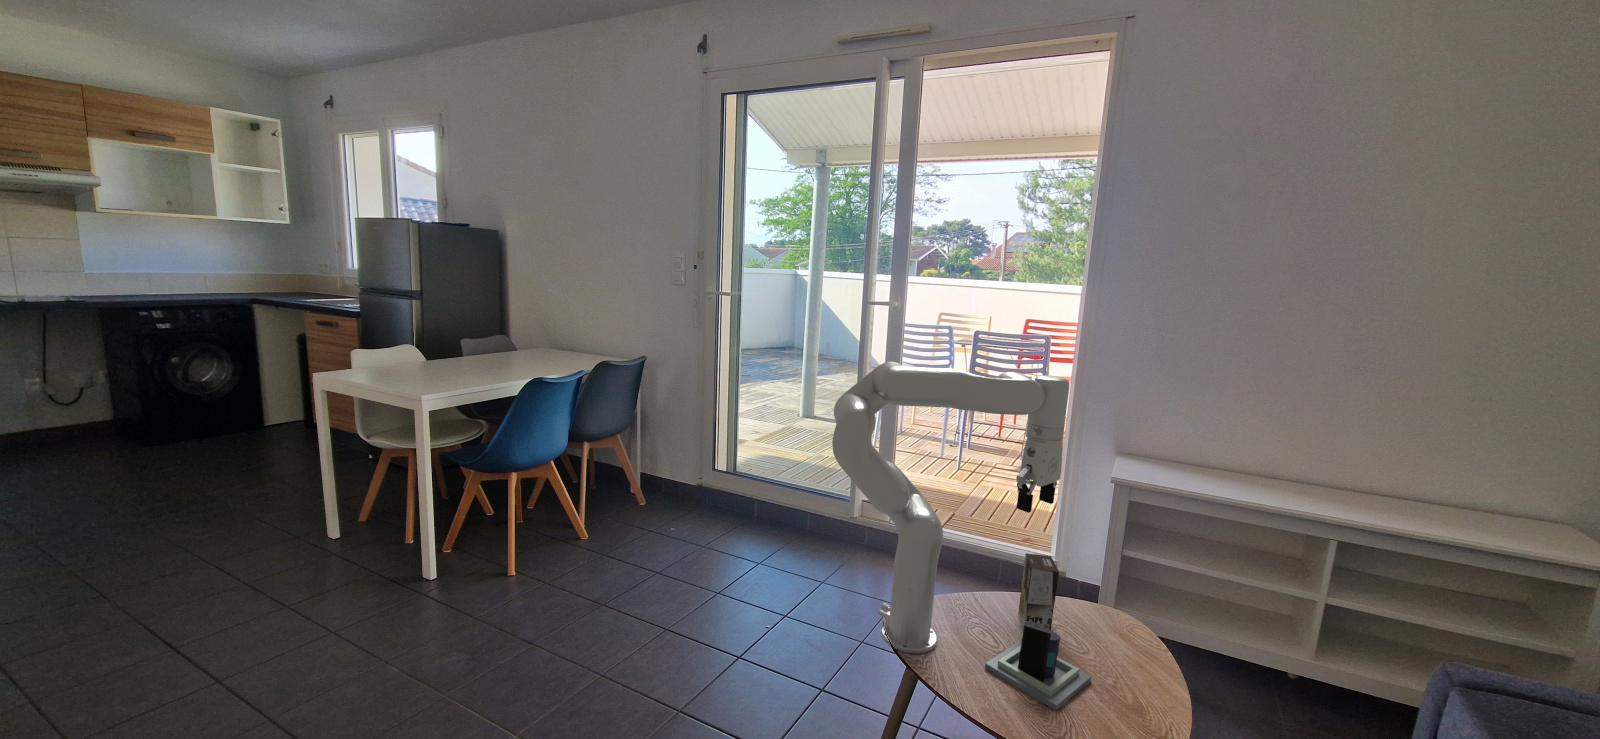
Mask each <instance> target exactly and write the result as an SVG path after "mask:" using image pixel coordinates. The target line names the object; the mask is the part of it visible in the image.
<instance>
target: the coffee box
mask: <svg viewBox="0 0 1600 739" xmlns="http://www.w3.org/2000/svg"><path fill="white" fill-rule="evenodd" d="M1024 556H1025V557H1024V564H1023V572H1022V579H1021V581H1022V582H1021V589H1020V598H1019V606H1018V615H1019V618H1020V622H1021V626H1022V629H1023V630H1024V625H1027V626H1030V627H1033V628H1043V629H1047V630H1050V631H1052V625H1053V624H1052V623H1053V616H1054V609H1055V604H1056V595H1057V589H1058V583H1059V582H1058V580H1059V574H1060V571H1059V569H1058V567H1057V565H1056V563H1055V561H1054V559H1053V557H1052V556H1051V555H1045V554H1044V555H1043V554H1033V553H1025V555H1024Z"/></svg>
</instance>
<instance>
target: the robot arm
mask: <svg viewBox="0 0 1600 739" xmlns="http://www.w3.org/2000/svg"><path fill="white" fill-rule="evenodd" d="M1069 393H1070V382H1069V381H1068V380H1067V379H1066V378H1063V377H1060V376H1056V375H1047V374H1046V375H1041V374H1040V375H1031V374H1025V373H1021V372H1018V371H1017V372H1016V371H1006V372H1003V373H1000V374H999V375H997V376H996V377H989V376H982V375H977V374H974V373H972V372H968V371H965V370H960V369H956V368H950V367H926V366H925V367H923V366H922V367H920V366H904V365H902V364H901V363H899V362H896V361H887V362H883V363H881V364H879V365H878V366H877V367H875V368H874V369H872V370H871V371H870V372H869V373H868V374H866V375H865V376H864V377H863V378H861V379H860V380H858V382H856V383H855V384H854V385H852V386H851V387H850V388H849V389H848V390H846V391H845V392H844V393H842V395H841V396H840V397H838V399H837V401H836V402H835V404H834V406H833V407H834V408H833V417H834V421H835V423H836V424H835V427H834V430H833V435H832V443H831V445H832V446H831V447H832V453H833V456H834V459H835V460H836V462H837V465H839V467H840V468H841V469H842V470H843V472H845V474H846V475H847V476H848V477H849V478H850V480H851V481H852V482H853V484H854V485H855V486H856V488H858V490H860V492H861V493H862V494H863V495H864V497H865V498H866V499H867V500H868V501H869V503H870V505H871V506H873V507H874V508H875V509H876V510H877V511H878V512H880V513H881V514H885V515H886V516H888V518H889V519H890V520H891V521H892V522H893V523H894V526H895V528H896V531H897V534H898V535H897V536H898V539H897V540H898V541H897V547H896V551H895V557H894V562H893V564H894V565H893V573H892V574H893V575H892V584H891V594H890V596H891V597H890V605H889V604H887V603H885V602H882V604H881V605H880V609H879V610H878V611H877V615H878V616H880V617H882V618H883V619H884V620H885V621H884V623H883V624H882V626H881V630H880V631H881V632H880V634H881V637H882V639H883V641H884V642H885V643H886V644H887V645H888V646H889V647H891V648H893V647H894V648H893V649H895V650H897V649H898V650H897V651H899V652H902V653H907V654H915V655H916V654H917V655H919V654H925V653H928V652H929V651H932V650H933V649H934V648H935V647H936V645H937V642H938V641H937V640H938V638H937V634H936V631H934V630H933V629H932V620H933V611H934V602H935V601H934V600H935V599H934V598H935V592H936V582H937V581H936V580H937V574H938V573H937V572H938V564H939V563H938V562H939V557H940V553H941V549H942V546H943V541H944V529H943V525H942V522H941V520H940V518H939V517H938V515H937V513H936V512H935V510H934V509H933V507H932V506H931V504H930V503H929V502H928V500H927V499H926V497H925V496H924V495H923V494H922V493H921V491H920V490H918V488H917V487H916V486H915V485H914V484H913V483H912V481H911V480H910V478H908V476H907V475H905V473H904V472H903V471H902V470H901V468H899V467H898V466H897V465H896V464H894V463H893V462H891V461H890V460H889V461H888V460H886V459H884V457H883V456H882V454H881V453H880V452H879V451H878V450H877V449H876V448H875V447H874V445H873V441H872V437H873V433H874V431H875V429H876V423H877V418H876V414H877V413H879V411H881V410H882V409H883V408H885V406H887V405H888V404H889V405H893V406H903V407H926V408H928V407H929V408H948V409H949V408H950V409H956V410H961V411H968V412H969V411H970V412H977V413H985V414H993V415H1011V416H1012V415H1014V416H1017V415H1018V416H1025V415H1027V416H1028V417H1027V424H1026V431H1025V437H1026V441H1025V444H1024V449H1023V454H1022V459H1021V464H1020V472H1019V473H1018V474H1017V475H1016V482H1017V483H1016V487H1017V499H1016V500H1017V502H1016V509H1017V510H1019V511H1023V512H1025V513H1028V514H1030V513H1031V512H1032V508H1033V500H1034V495H1033V491H1034V490H1035V488H1036V486H1037V487H1040V489H1039V497H1038V499H1039V501H1042V502H1045V503H1047V504H1050V505H1052V504H1054V501H1055V493H1056V487H1057V485H1058V484H1057V483H1058V481H1059V480H1060V479H1061V475H1062V474H1061V473H1062V464H1063V438H1064V433H1065V432H1064V430H1065V424H1066V423H1065V422H1066V415H1067V408H1068V400H1069ZM1028 485H1029V486H1028ZM884 626H885V629H886V632H887V635H888V637H889V640H890V641H891V644H892V645H893V647H892V646H891V644H890V642H889V640H888V638H887V636H886V633H885V630H884Z"/></svg>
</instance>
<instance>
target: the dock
mask: <svg viewBox="0 0 1600 739" xmlns="http://www.w3.org/2000/svg"><path fill="white" fill-rule="evenodd" d="M1021 643H1022V639H1021V640H1019V641H1018V642H1016V643H1015V644H1013V645H1011V646H1010V647H1008V648H1007V649H1006V650H1003V651H1002V652H1001V653H999V654H997V655H996V656H994V657H992V658H991V659H989V660H988V661H987V662H985V663H984V664H985V665H984V669H985V670H986V671H989V672H990V673H991V674H994V675H995V676H997V677H999V678H1000V679H1002V680H1004V681H1006V682H1007V683H1009V684H1010V685H1012V686H1013V687H1016V688H1017V689H1019V690H1020V691H1022V692H1023V693H1025V694H1027V695H1028V696H1030V697H1032V698H1034V699H1036V700H1037V701H1039V702H1040V703H1042V704H1044V705H1046V706H1047V707H1049V708H1051V709H1052V710H1054V711H1058V710H1059V709H1060V708H1061V707H1063V705H1065V704H1066V703H1067V702H1068V701H1070V700H1071V699H1072V698H1073V697H1074V696H1075V695H1076V694H1078V693H1079V692H1080V691H1082V690H1083V689H1084V688H1085V687H1086V686H1087V685H1089V684H1090V683H1091V681H1092V675H1090V674H1088V673H1086V672H1084V671H1082V670H1080V668H1079V667H1077V666H1075V665H1073V664H1071V663H1069V662H1068V661H1065V660H1063V659H1062V658H1059V657H1058V656H1057V662H1056V668H1055V674H1054V676H1052V677H1044V682H1041V681H1039V680H1037V679H1035V678H1034V677H1032V676H1030V675H1028V674H1027V673H1025V672H1023V671H1021V670H1020V669H1018V663H1019V657H1020V650H1021Z"/></svg>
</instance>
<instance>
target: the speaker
mask: <svg viewBox="0 0 1600 739" xmlns="http://www.w3.org/2000/svg"><path fill="white" fill-rule="evenodd" d="M1021 640H1022V643H1021V650H1020V657H1019V663H1018V669H1020V670H1021V671H1023V672H1025V673H1027V674H1028V675H1030V676H1032V677H1034V678H1035V679H1037V680H1039V681H1041V682H1044V677H1052V676H1054V674H1055V668H1056V662H1057V657H1058V655H1059V649H1060V642H1061V636H1060V635H1059V634H1057V633H1056V632H1054V631H1052V630H1051V631H1050V630H1047V629H1043V628H1033V627H1030V626H1027V625H1024V629H1023V632H1022V638H1021Z"/></svg>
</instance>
